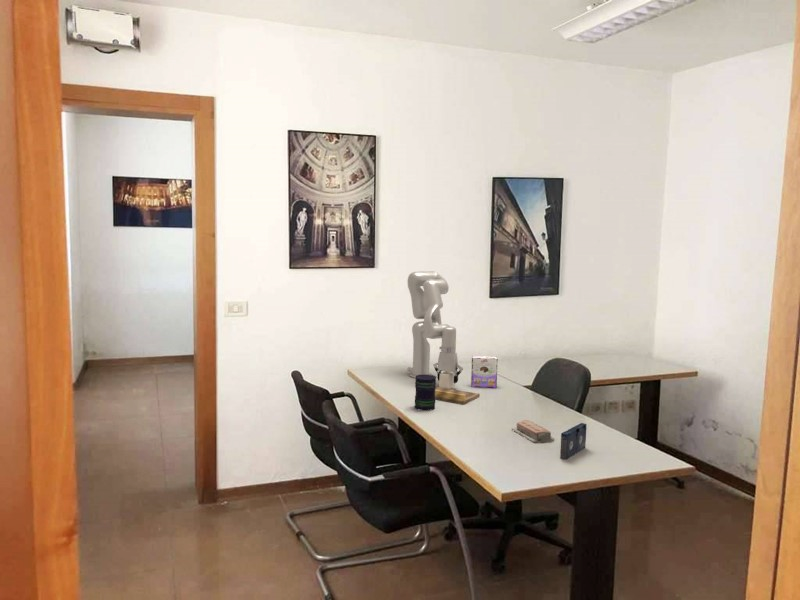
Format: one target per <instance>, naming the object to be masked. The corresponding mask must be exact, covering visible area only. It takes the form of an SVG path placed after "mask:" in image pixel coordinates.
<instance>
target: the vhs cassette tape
mask: <svg viewBox="0 0 800 600" xmlns="http://www.w3.org/2000/svg"><path fill="white" fill-rule="evenodd" d="M587 427H588V426H587V423H584V422H580V423H578V424H577V425H574V426H573V427H570V428H569V429H567V430H565V431H563V432H561V433H560V454H559V458H560V459H561V460H566V461H567V460H568V459H570V458H571V457H573V456H575V455H576V454H578V453H580V452H581V451H583V450H584V449H586V442H587V429H588V428H587Z"/></svg>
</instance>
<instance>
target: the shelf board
mask: <svg viewBox="0 0 800 600" xmlns="http://www.w3.org/2000/svg"><path fill="white" fill-rule="evenodd" d="M480 395H481V394H480V393H478V392H477V393H476V392H471V391H465V390H461V389H460V390H459V389H455V388H453V389H452V388H451V389H448V388H442V387H439V386H436V389H435V401H436V400H438V401H442V402H448V403H453V404H458V403H459V405H466V404H469V403H470V402H472V401H474V400H476V399H478V398H479V397H481V396H480ZM477 397H478V398H477ZM475 398H476V399H475Z"/></svg>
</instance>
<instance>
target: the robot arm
mask: <svg viewBox="0 0 800 600" xmlns="http://www.w3.org/2000/svg"><path fill="white" fill-rule="evenodd" d="M449 287H450V286H449V284H448V282H447V280H446V279H445V278H444V277H443V276H442V275H441V274H439V273H438V272H437V271H425V270H424V271H423V270H422V271H421V270H419V271H413V272H411V273H410V274H409V275H408V277H407V288H408V290H409V294H410V299H411V309H412V315H413V317H414V318H415V319H416V320H423V321H416V322H415V323H414V324H412V326H411V327H412V328H411V333H412V338H413V339H412V340H413V341H412V342H413V343H412V344H413V345H412V347H413V349H412V350H413V351H412V353H413V354H412V367H410V366H408V367H407V370H406V371H407V372H410V373H409V377H410V378H415V379H416V376H417V375H423V374H426V375H432V373H431V372H430V362H431V361H430V360H431V359H430V358H431V345H430V343H429V340H428V339H430V340H436V339H437V340H439V339H441V346H439V350H440V352H439V354H438V359H437V362H436V363H434V364H433V365H432V366H433V367H434V371H435V372H436V374H437V376H436V380H437V381H438V382H439V376H440V374H441V373H442V372H453V373H454V375H455V376H454V383H455V384H456V383H458V381H459V375H460V374H461V373H462V372H463V370H464V367H462V366H461V365H459V360H458V355H457V352H456V346H457V328H456V327H454V326H450V325H449V324H445V323H442V317H441V309H442V308H443V307H444V303H443V299H442V295H446V294H447V293H448V292H449Z"/></svg>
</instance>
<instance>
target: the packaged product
mask: <svg viewBox="0 0 800 600" xmlns="http://www.w3.org/2000/svg"><path fill="white" fill-rule="evenodd" d="M513 430H514V431H513ZM511 431H513V432H514V433H516V434H518V433H519V434H518V435H519V436H521V435H522V436H521V437H523V438H524V437H525V439H526V438H527V439H526V440H528V441H530V442H532V443H533V444H538V442H540V443H546V441H549V442H554V441H555V438H554V437H553V436H552V435H551V433H552V432H551V431H549V430H548V429H546V428H544V427H543V426H541V425H538V424H537V423H535V422H534V421H531V420H529V419H524V420H522V421H519V422H517V423H516V427H511Z"/></svg>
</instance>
